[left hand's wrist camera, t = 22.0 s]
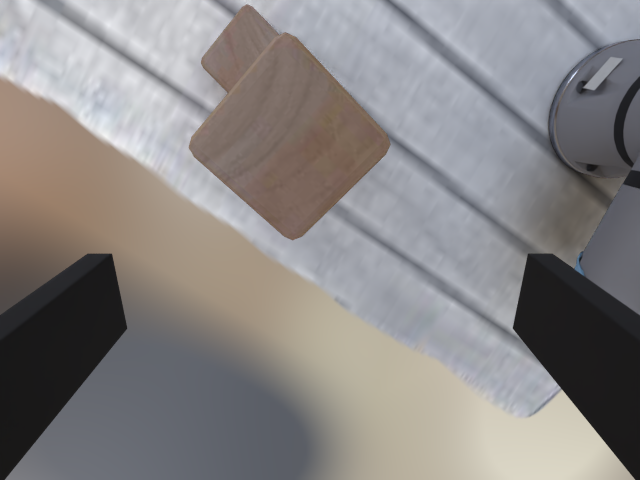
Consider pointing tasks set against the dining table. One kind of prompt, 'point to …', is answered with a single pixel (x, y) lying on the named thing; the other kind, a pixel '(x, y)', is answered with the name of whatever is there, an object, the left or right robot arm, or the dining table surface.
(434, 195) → the dining table surface
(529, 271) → the left robot arm
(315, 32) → the dining table surface
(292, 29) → the dining table surface
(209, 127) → the decorative block
